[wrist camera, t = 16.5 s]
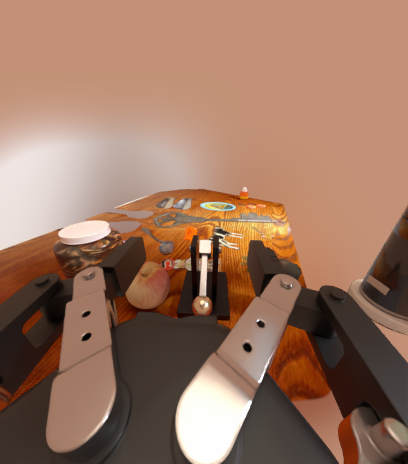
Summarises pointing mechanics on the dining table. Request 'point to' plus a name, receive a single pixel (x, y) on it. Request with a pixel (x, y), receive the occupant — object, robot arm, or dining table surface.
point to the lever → (203, 281)
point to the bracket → (215, 284)
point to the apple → (149, 286)
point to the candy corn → (244, 194)
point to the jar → (85, 246)
